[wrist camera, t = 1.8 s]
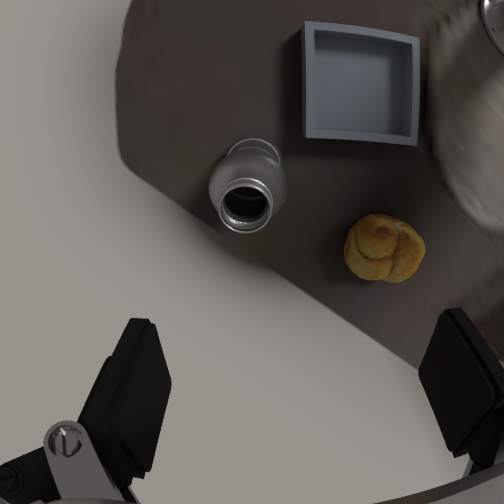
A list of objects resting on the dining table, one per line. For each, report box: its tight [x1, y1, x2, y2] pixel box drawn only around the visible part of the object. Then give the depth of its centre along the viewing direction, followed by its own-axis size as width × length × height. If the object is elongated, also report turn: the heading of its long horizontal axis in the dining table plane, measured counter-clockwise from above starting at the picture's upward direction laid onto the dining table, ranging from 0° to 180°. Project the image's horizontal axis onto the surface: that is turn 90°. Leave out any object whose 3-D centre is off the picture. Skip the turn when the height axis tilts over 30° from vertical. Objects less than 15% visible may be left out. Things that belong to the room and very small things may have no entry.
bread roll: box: [344, 214, 425, 283], centre depth 40 cm, size 13×10×8 cm
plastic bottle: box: [209, 134, 288, 233], centre depth 30 cm, size 6×7×20 cm
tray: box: [301, 21, 420, 146], centre depth 32 cm, size 14×14×4 cm
